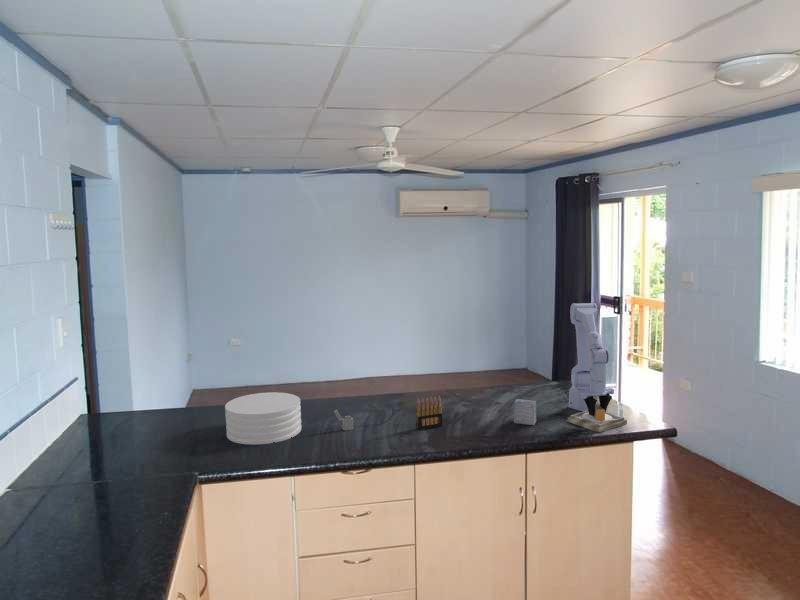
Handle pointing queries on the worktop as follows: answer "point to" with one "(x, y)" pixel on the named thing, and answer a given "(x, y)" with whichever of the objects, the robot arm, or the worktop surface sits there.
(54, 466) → the worktop surface
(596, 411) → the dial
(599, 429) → the square tray
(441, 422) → the ammunition clip
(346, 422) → the lighter
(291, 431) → the plate stack
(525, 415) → the medicine box
